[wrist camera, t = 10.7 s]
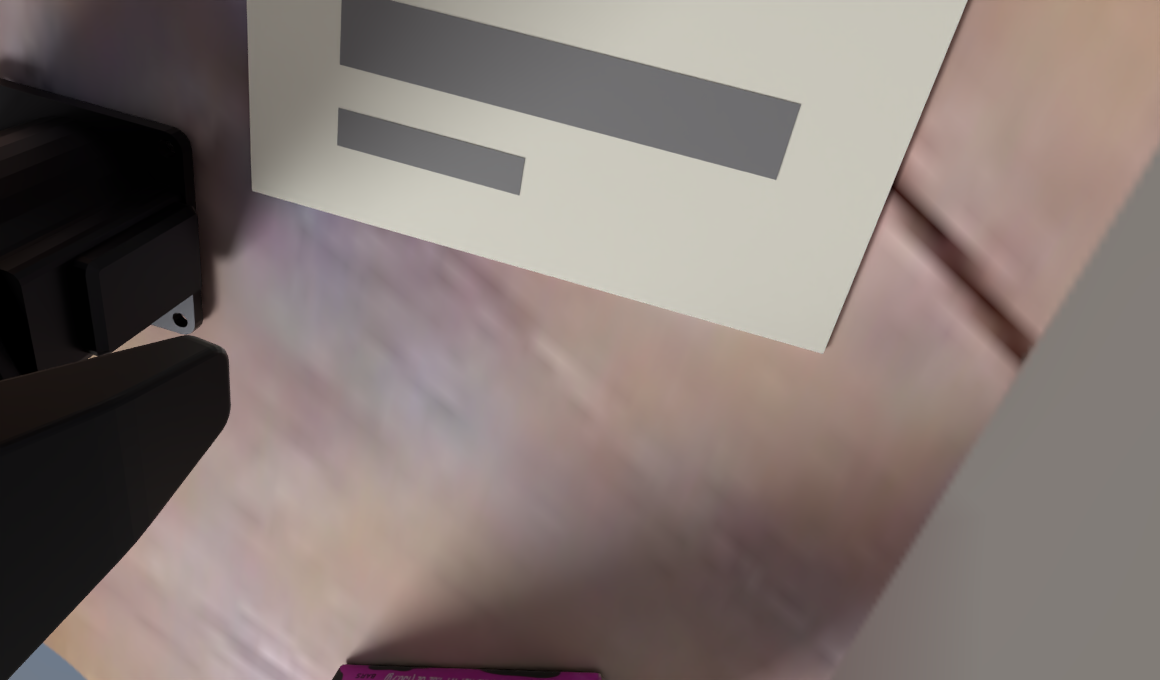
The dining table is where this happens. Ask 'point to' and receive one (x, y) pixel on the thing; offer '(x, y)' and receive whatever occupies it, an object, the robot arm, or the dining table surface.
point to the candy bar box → (451, 674)
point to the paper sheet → (608, 136)
